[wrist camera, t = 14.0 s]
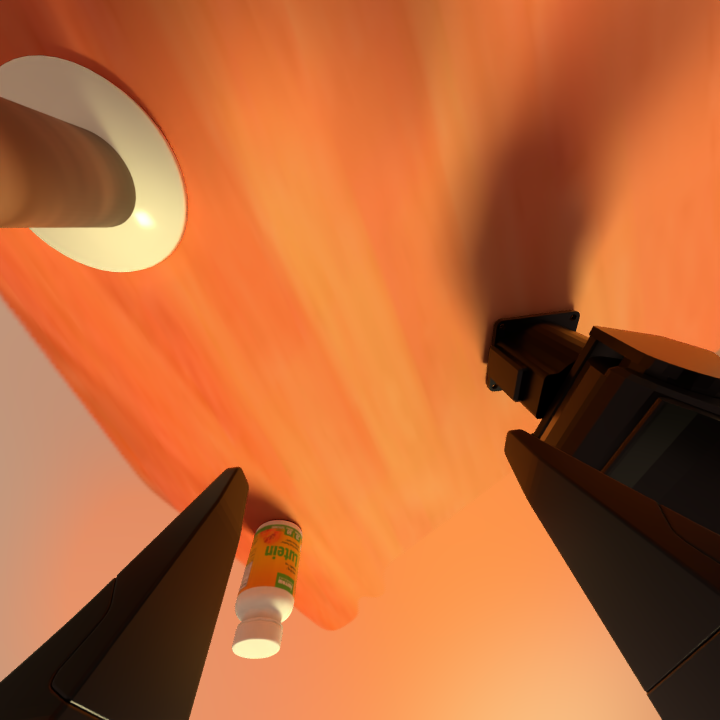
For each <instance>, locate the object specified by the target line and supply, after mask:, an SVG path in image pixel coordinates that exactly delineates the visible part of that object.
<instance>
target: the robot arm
mask: <svg viewBox="0 0 720 720" xmlns="http://www.w3.org/2000/svg"><path fill="white" fill-rule="evenodd" d="M572 315H573V316H572ZM571 316H572V318H570V317H571ZM579 317H580V314H579V312H577V311H574V310H566V311H559V312H551V313H543V314H536V315H528V316H520V317H513V318H505V319H499V320H498V321H496V323H495V324H494V330H493V338H492V346H491V347H490V350H489V359H488V367H487V374H488V381H487V387H488V388H489V389H490V390H491V391H501V390H503V391H504V392H505V393H506V394H507V395H508V396H509V397H510V398H511V399H512V400H513V401H515V402H521V403H522V404H523V405H524V406H525V407H526V408H527V409H528V410H529V411H530V412H531V413H532V414H533V415H534V416H535V417H536V418H537V419H542V420H541V422H540V424H539V425H538V427H537V429H536V431H535V432H534V433H532V434H529V433H527V432H525V431H523V430H520V429H518V430H511V431H508V433H507V436H506V442H505V448H504V451H505V455H506V457H507V459H508V461H509V463H510V465H511V467H512V470H513V472H514V474H515V476H516V478H517V480H518V482H519V484H520V486H521V488H522V490H523V492H524V494H525V496H526V498H527V500H528V501H529V503H530V505H531V507H532V508H533V510H534V512H535V513H536V515H537V516H538V518H539V520H540V521H541V523H542V524H543V526H544V528H545V529H546V531H547V533H548V534H549V536H550V538H551V539H552V541H553V542H554V544H555V546H556V547H557V549H558V551H559V552H560V554H561V555H562V557H563V559H564V560H565V562H566V564H567V565H568V566H569V568H570V570H571V572H572V573H573V575H574V577H575V578H576V580H577V581H578V583H579V585H580V586H581V588H582V590H583V591H584V593H585V594H586V596H587V598H588V599H589V601H590V603H591V604H592V606H593V607H594V609H595V611H596V612H597V614H598V616H599V617H600V619H601V620H602V622H603V624H604V625H605V627H606V629H607V630H608V632H609V634H610V635H611V637H612V638H613V640H614V641H615V643H616V645H617V646H618V648H619V650H620V651H621V653H622V655H623V656H624V658H625V659H626V661H627V663H628V664H629V666H630V668H631V669H632V671H633V673H634V674H635V676H636V677H637V679H638V681H639V682H640V684H641V686H642V687H643V689H644V690H645V691H646V692H647V696H648V697H649V699H650V701H651V702H652V704H653V706H654V707H655V708H656V710H657V712H658V714H659V715H660V717H661V719H662V720H720V357H719V356H718V355H716V354H715V353H714V352H711V351H709V350H706V349H702V348H699V347H696V346H692V345H689V344H686V343H682V342H679V341H676V340H672V339H669V338H666V337H662V336H657V335H651V334H644V333H638V332H631V331H625V330H619V329H612V328H606V327H599V326H593V328H592V330H591V331H590V333H589V335H590V337H589V338H588V337H586V336H584V335H582V334H580V333H577V332H576V329H577V325H578V321H579ZM501 324H504V325H503V327H502V328H500V325H501ZM494 384H495V385H494ZM493 385H494V386H493ZM492 386H493V387H492ZM248 490H249V485H248V482H247V479H246V477H245V475H244V473H243V470H242V469H241V468H240V467H233V468H228V469H226V470H225V471H224V472H223V473H222V474H221V475H220V476H219V477H218V478H217V479H216V480H215V481H214V482H212V483H211V484H210V485H209V486H208V487H207V488H206V489H205V490H204V491H203V492H202V493H201V494H200V495H199V496H198V497H197V498H196V499H195V500H194V501H193V502H192V503H191V504H190V505H189V506H188V507H187V508H186V509H185V510H184V511H183V512H182V513H181V514H180V515H179V516H177V517H176V518H175V519H174V520H173V521H172V522H171V523H170V524H169V525H168V526H167V527H166V528H165V529H164V530H163V531H162V532H161V533H160V534H159V535H158V536H157V537H156V538H155V539H154V540H153V541H152V542H151V543H150V544H149V545H148V546H147V547H146V548H145V549H144V550H143V551H142V552H141V553H139V554H138V555H137V556H136V557H135V558H134V559H133V560H132V561H131V562H130V563H129V564H128V565H127V566H126V567H125V568H124V569H123V570H122V571H121V572H120V573H119V574H118V575H117V577H116V578H114V579H113V580H112V581H110V582H109V584H107V585H106V586H105V587H104V588H103V589H102V590H101V591H100V592H99V593H98V594H97V595H96V596H95V597H94V598H93V599H92V600H91V601H90V602H89V603H88V604H87V605H86V606H84V607H83V608H82V609H81V610H80V611H79V612H78V613H77V614H76V615H75V616H74V617H73V618H72V619H71V620H69V621H68V622H67V623H66V624H65V625H64V626H63V627H62V628H61V629H60V630H58V631H57V632H56V633H55V634H54V635H53V636H52V637H51V638H50V639H49V640H47V641H46V642H45V643H44V644H43V645H42V646H41V647H40V648H38V649H37V650H36V651H35V652H34V653H33V654H32V655H31V656H29V657H28V658H27V659H26V660H25V661H24V662H23V663H22V664H21V665H19V666H18V667H17V668H16V669H15V670H14V671H12V672H11V673H10V674H9V675H8V676H7V677H6V678H5V679H3V680H2V681H1V682H0V720H189V717H190V714H191V710H192V706H193V703H194V699H195V696H196V692H197V689H198V685H199V681H200V678H201V674H202V671H203V667H204V664H205V660H206V657H207V653H208V650H209V646H210V643H211V639H212V635H213V632H214V628H215V625H216V621H217V618H218V614H219V611H220V607H221V604H222V600H223V597H224V593H225V589H226V586H227V582H228V579H229V575H230V572H231V568H232V565H233V561H234V558H235V554H236V551H237V547H238V543H239V539H240V535H241V530H242V524H243V518H244V513H245V507H246V502H247V496H248Z"/></svg>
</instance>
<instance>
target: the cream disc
mask: <svg viewBox="0 0 720 720" xmlns="http://www.w3.org/2000/svg"><path fill="white" fill-rule="evenodd" d="M0 97H3V98H5V99H8V100H10V101H13V102H16V103H18V104H21V105H24V106H26V107H29V108H31V109H34V110H37V111H39V112H42V113H44V114H47V115H50V116H52V117H55V118H58V119H60V120H63V121H65V122H68V123H71V124H73V125H76V126H79V127H81V128H84V129H86V130H89V131H91V132H93V133H95V134H96V135H98V136H99V137H101V138H102V139H104V140H105V141H106V142H107V143H108V144H109V145H111V146H112V147H113V148H114V149H115V151H116V152H117V153H118V154H119V155H120V157H121V158H122V159H123V161H124V162H125V164H126V166H127V167H128V169H129V171H130V173H131V176H132V179H133V182H134V186H135V191H136V202H135V207H134V210H133V213H132V215H131V216H130V217H129V219H128V220H127V221H126V222H124V223H123V224H121V225H118V226H115V227H108V228H29V229H30V230H32V231H33V232H34V233H35V234H36V235H37V236H38V237H39V238H41V239H42V240H43V241H45V242H46V243H47V244H48V245H50V246H51V247H53V248H54V249H56V250H57V251H59V252H60V253H62V254H63V255H65V256H67V257H69V258H71V259H73V260H75V261H77V262H80V263H82V264H84V265H87V266H90V267H93V268H97V269H100V270H106V271H111V272H132V271H137V270H142V269H147V268H150V267H152V266H155V265H157V264H159V263H161V262H162V261H164V260H165V259H166V258H168V257H169V256H170V255H171V254H172V253H173V252H174V251H175V249H176V248H177V247H178V245H179V243H180V241H181V240H182V237H183V235H184V232H185V228H186V224H187V217H188V198H187V191H186V186H185V181H184V178H183V174H182V171H181V168H180V166H179V163H178V161H177V158H176V156H175V154H174V152H173V150H172V148H171V147H170V145H169V143H168V141H167V140H166V138H165V137H164V135H163V133H162V132H161V130H160V129H159V128H158V126H157V125H156V124H155V122H154V121H153V120H152V119H151V117H150V116H149V115H148V114H147V113H146V112H145V111H144V110H143V109H142V108H141V106H140V105H139V104H138V103H136V102H135V101H134V100H133V99H132V98H131V97H130V96H129V95H127V94H126V93H125V92H124V91H122V90H121V89H120V88H118V87H117V86H115V85H114V84H113V83H111V82H110V81H108V80H106V79H105V78H103V77H101V76H100V75H98V74H96V73H95V72H93V71H91V70H89V69H88V68H85V67H83V66H81V65H78V64H76V63H74V62H71V61H68V60H64V59H61V58H57V57H50V56H43V55H38V56H25V57H20V58H16V59H13V60H11V61H9V62H7V63H5V64H3V65H2V66H0Z"/></svg>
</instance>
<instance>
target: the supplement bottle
mask: <svg viewBox="0 0 720 720" xmlns="http://www.w3.org/2000/svg"><path fill="white" fill-rule="evenodd" d="M301 544H302V531H301V529H300V528H299V527H298V526H297V525H296V524H294V523H292V522H289V521H285V520H273V521H268V522H266V523H264V524H262V525H261V526H260V527H259V528H258V529H257V531H256V533H255V537H254V540H253V543H252V547H251V550H250V554H249V558H248V561H247V565H246V568H245V572H244V575H243V579H242V582H241V586H240V590H239V593H238V597H237V600H236V604H235V612H236V615H237V617H238V618H239V620H240V621H241V623H240V624H239V625H238V627H237V629H236V633H235V637H234V641H233V645H232V650H233V652H234V653H235V654H236V655H238V656H241V657H244V658H252V659H257V658H265V657H270V656H272V655H274V654H276V653H277V652H278V651H279V649H280V644H281V638H282V630H283V627H282V624H281V622H283V621H285V620H286V619H287V618H288V617H289V615H290V614H291V612H292V609H293V605H294V598H295V590H296V582H297V574H298V567H299V559H300V552H301Z"/></svg>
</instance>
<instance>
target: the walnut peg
mask: <svg viewBox="0 0 720 720" xmlns="http://www.w3.org/2000/svg"><path fill="white" fill-rule="evenodd" d="M135 202H136V191H135V186H134V182H133V179H132V176H131V173H130V171H129V169H128V167H127V166H126V164H125V162H124V161H123V159H122V158H121V157H120V155H119V154H118V153H117V152H116V151H115V149H114V148H113V147H112V146H111V145H109V144H108V143H107V142H106V141H105V140H104V139H102V138H101V137H99V136H98V135H96V134H95V133H93V132H91V131H89V130H86V129H84V128H81V127H79V126H76V125H73V124H71V123H68V122H65V121H63V120H60V119H58V118H55V117H52V116H50V115H47V114H44V113H42V112H39V111H37V110H34V109H31V108H29V107H26V106H24V105H21V104H18V103H16V102H13V101H10V100H8V99H5V98H3V97H0V228H108V227H115V226H118V225H121V224H123V223H124V222H126V221H127V220H128V219H129V217H130V216H131V215H132V213H133V210H134V207H135Z"/></svg>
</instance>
